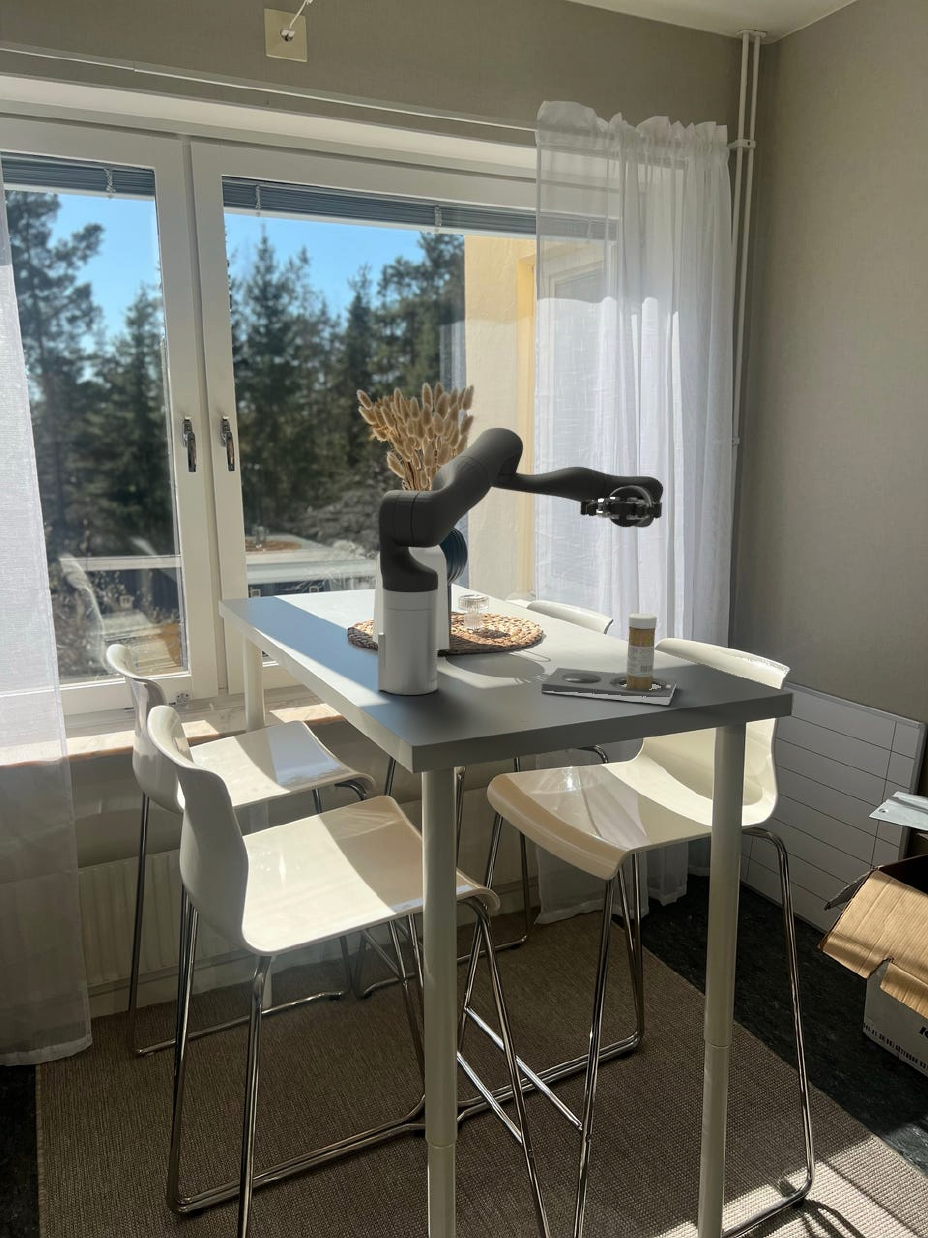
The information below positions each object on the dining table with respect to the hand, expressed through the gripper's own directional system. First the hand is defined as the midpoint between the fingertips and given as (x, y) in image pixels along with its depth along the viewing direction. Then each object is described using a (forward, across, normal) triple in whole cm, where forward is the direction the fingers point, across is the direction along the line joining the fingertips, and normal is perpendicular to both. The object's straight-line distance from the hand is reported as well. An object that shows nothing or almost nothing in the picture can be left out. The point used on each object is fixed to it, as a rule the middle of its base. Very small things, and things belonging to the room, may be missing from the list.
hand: (615, 510), depth 158 cm
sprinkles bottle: (+8, +7, +30) cm, 32 cm away
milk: (-10, -42, +30) cm, 53 cm away
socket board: (+8, +2, +30) cm, 31 cm away
